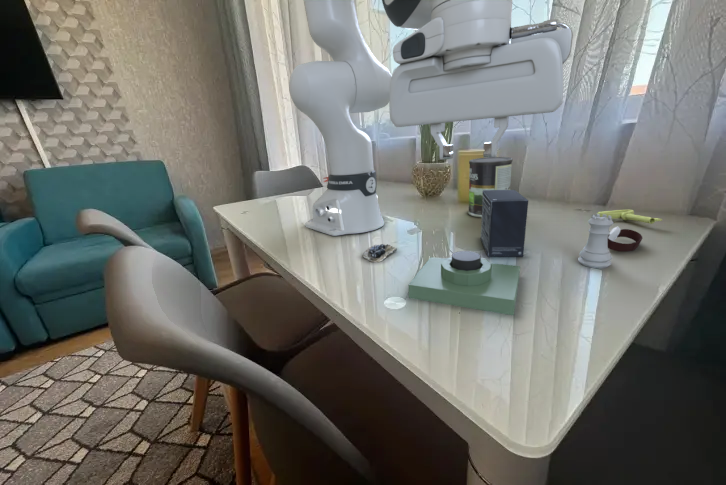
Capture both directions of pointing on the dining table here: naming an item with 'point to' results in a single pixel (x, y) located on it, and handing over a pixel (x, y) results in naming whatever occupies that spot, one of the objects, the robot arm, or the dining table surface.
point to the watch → (623, 233)
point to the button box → (467, 285)
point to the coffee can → (487, 179)
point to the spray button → (466, 260)
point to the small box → (503, 223)
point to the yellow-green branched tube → (628, 216)
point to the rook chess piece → (597, 243)
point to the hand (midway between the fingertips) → (467, 158)
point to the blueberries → (378, 252)
